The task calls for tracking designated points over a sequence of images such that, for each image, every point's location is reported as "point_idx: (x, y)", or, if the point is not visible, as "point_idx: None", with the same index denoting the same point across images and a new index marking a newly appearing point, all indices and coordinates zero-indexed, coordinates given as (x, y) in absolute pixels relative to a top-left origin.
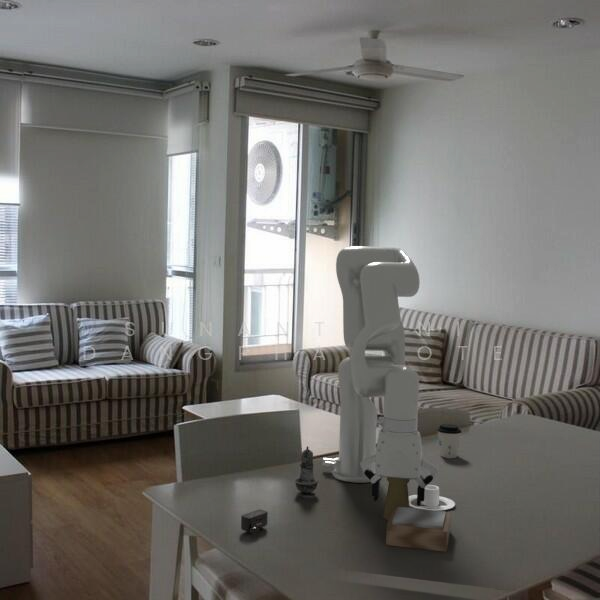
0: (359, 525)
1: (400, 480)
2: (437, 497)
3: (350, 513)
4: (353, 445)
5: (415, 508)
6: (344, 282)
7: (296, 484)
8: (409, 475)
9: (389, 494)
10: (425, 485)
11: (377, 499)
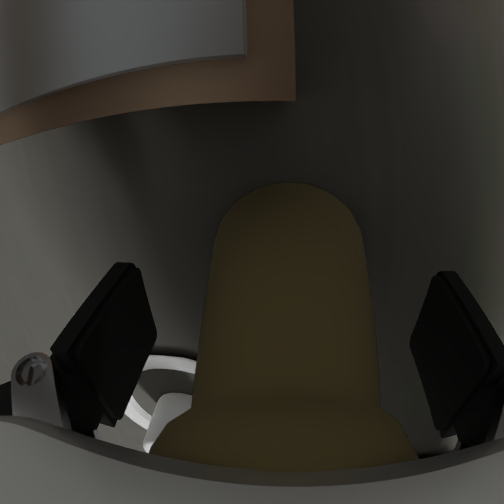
0: (471, 72)
1: (231, 438)
2: (151, 420)
3: (500, 245)
4: None
5: (84, 77)
6: None
7: None
8: (44, 478)
9: (362, 312)
10: (20, 370)
11: (434, 287)
